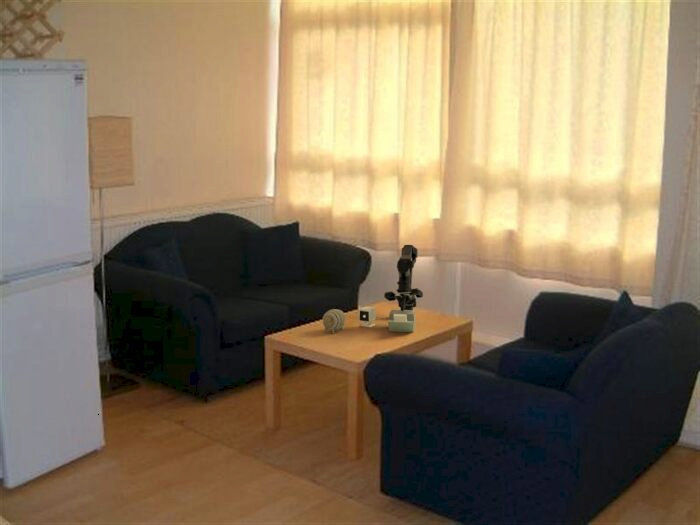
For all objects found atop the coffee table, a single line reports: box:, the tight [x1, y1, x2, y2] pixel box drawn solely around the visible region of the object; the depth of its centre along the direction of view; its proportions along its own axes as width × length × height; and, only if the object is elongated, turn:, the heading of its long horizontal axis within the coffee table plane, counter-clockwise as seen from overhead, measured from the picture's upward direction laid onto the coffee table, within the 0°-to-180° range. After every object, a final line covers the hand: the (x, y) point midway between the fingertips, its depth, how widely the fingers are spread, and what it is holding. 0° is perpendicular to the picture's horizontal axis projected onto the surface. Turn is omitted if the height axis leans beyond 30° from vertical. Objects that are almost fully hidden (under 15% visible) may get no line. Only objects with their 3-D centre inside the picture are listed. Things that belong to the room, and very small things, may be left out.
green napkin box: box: [388, 309, 416, 330], centre depth 406 cm, size 8×12×10 cm, turn 81°
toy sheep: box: [322, 308, 346, 335], centre depth 406 cm, size 11×17×11 cm, turn 153°
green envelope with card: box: [387, 314, 415, 333], centre depth 398 cm, size 1×12×13 cm
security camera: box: [358, 306, 376, 328], centre depth 412 cm, size 6×7×10 cm
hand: (402, 310), depth 405 cm, fingers closed
